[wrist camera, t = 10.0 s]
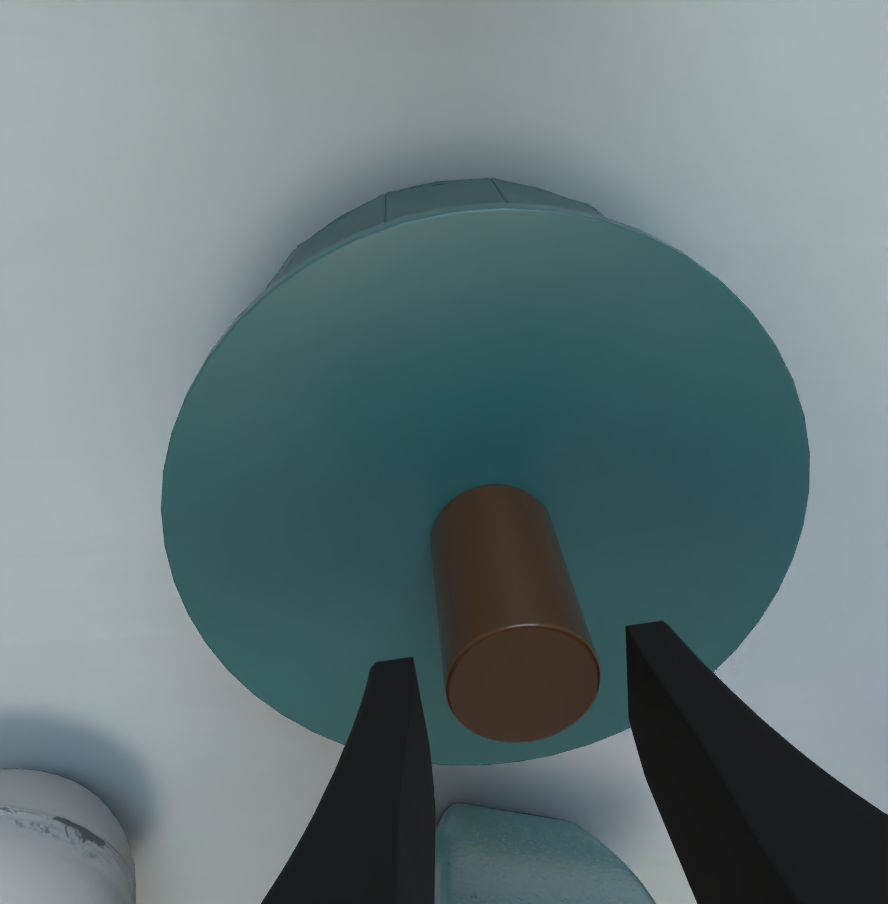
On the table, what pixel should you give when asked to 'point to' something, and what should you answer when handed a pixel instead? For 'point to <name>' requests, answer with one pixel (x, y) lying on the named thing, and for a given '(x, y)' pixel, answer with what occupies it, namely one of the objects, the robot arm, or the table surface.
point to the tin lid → (483, 475)
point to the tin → (424, 209)
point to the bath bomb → (60, 844)
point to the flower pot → (526, 862)
